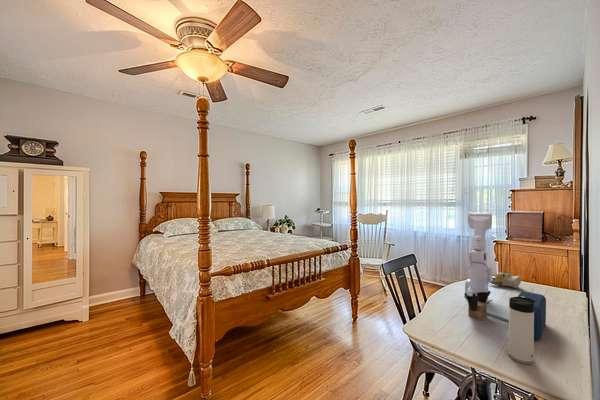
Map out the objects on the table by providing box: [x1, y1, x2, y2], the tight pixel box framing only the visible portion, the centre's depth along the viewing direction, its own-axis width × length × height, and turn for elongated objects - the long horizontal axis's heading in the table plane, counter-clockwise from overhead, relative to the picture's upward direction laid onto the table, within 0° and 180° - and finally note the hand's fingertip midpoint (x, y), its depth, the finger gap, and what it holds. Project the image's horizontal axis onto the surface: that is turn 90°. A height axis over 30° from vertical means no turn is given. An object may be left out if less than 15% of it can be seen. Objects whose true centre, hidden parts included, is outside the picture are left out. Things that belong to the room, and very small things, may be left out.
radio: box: [517, 290, 547, 341], centre depth 104 cm, size 21×9×20 cm, turn 132°
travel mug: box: [508, 296, 535, 365], centre depth 86 cm, size 6×7×20 cm
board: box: [487, 301, 509, 323], centre depth 118 cm, size 12×14×1 cm
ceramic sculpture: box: [490, 271, 523, 289], centre depth 150 cm, size 11×9×15 cm
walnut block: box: [467, 301, 488, 321], centre depth 115 cm, size 5×5×6 cm
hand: (477, 308), depth 115 cm, fingers open, 7 cm apart
